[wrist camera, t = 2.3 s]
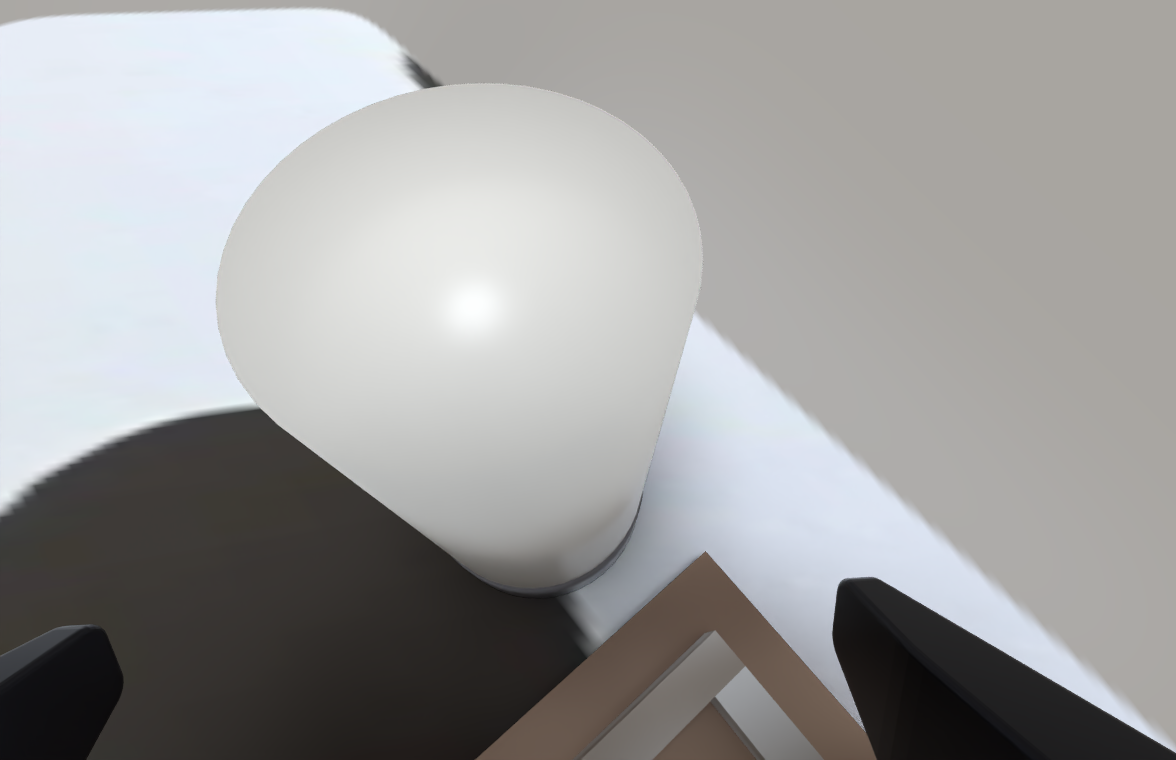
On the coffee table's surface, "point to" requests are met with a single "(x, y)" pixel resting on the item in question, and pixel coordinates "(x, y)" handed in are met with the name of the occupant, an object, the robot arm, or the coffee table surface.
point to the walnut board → (689, 690)
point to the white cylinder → (473, 319)
